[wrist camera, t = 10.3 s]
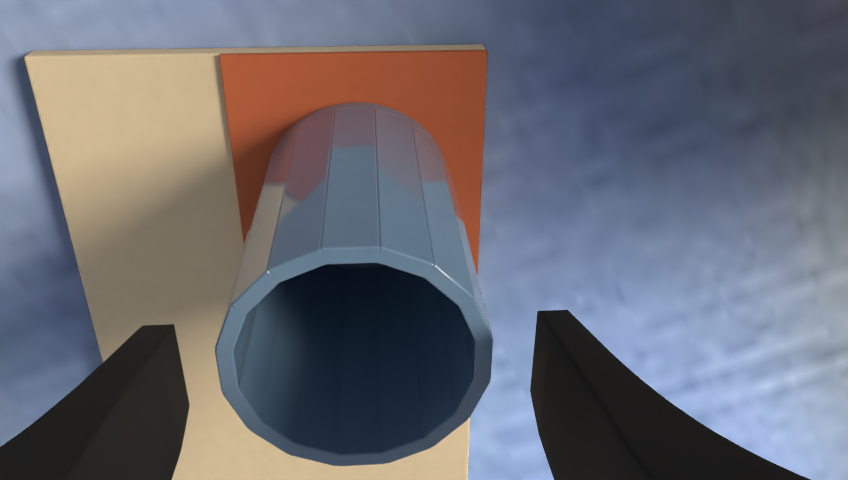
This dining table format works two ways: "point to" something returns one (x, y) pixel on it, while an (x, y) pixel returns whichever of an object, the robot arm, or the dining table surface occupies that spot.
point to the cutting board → (226, 199)
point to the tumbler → (355, 295)
